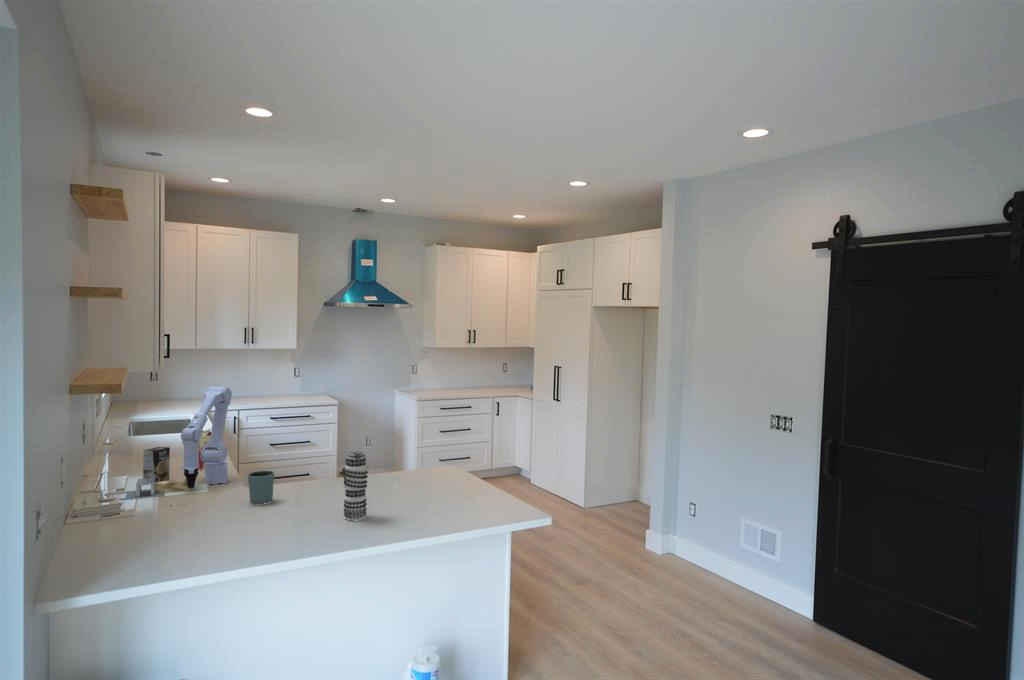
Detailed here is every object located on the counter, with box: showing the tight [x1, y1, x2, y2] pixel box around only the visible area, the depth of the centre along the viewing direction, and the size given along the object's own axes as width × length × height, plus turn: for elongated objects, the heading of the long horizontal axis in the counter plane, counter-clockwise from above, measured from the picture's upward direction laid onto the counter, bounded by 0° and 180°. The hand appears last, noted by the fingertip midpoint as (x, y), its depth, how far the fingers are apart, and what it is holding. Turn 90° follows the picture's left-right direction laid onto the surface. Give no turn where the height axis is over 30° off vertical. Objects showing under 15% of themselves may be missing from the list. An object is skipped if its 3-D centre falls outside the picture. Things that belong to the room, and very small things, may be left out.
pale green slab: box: [103, 483, 209, 501], centre depth 258 cm, size 38×14×2 cm, turn 118°
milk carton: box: [198, 428, 218, 470], centre depth 307 cm, size 9×9×20 cm
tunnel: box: [135, 477, 155, 497], centre depth 256 cm, size 6×9×6 cm
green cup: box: [247, 470, 275, 505], centre depth 251 cm, size 10×10×12 cm
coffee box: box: [142, 446, 171, 482], centre depth 276 cm, size 9×6×16 cm
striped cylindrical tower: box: [343, 451, 369, 522], centre depth 234 cm, size 9×9×25 cm
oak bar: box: [154, 478, 192, 494], centre depth 260 cm, size 15×4×4 cm, turn 118°
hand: (191, 486), depth 264 cm, fingers closed on oak bar, 4 cm apart
